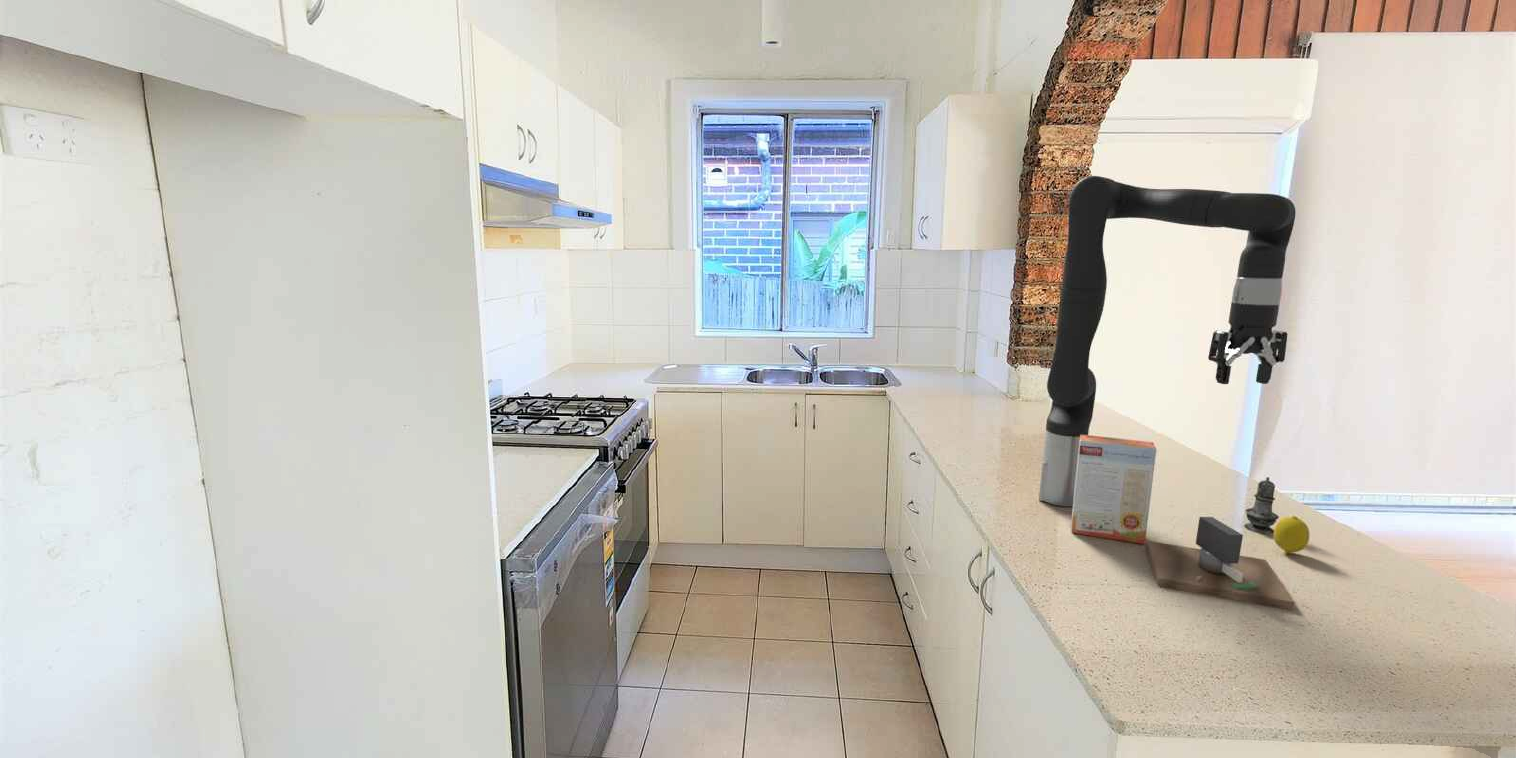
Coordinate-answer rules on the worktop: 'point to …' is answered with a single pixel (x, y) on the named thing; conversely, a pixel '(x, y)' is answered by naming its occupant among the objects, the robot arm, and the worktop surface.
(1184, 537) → the worktop surface
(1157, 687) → the worktop surface
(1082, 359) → the robot arm
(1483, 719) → the worktop surface
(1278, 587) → the dial plate
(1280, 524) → the lemon
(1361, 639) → the worktop surface
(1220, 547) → the dial pointer knob
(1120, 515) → the cracker box
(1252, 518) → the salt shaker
